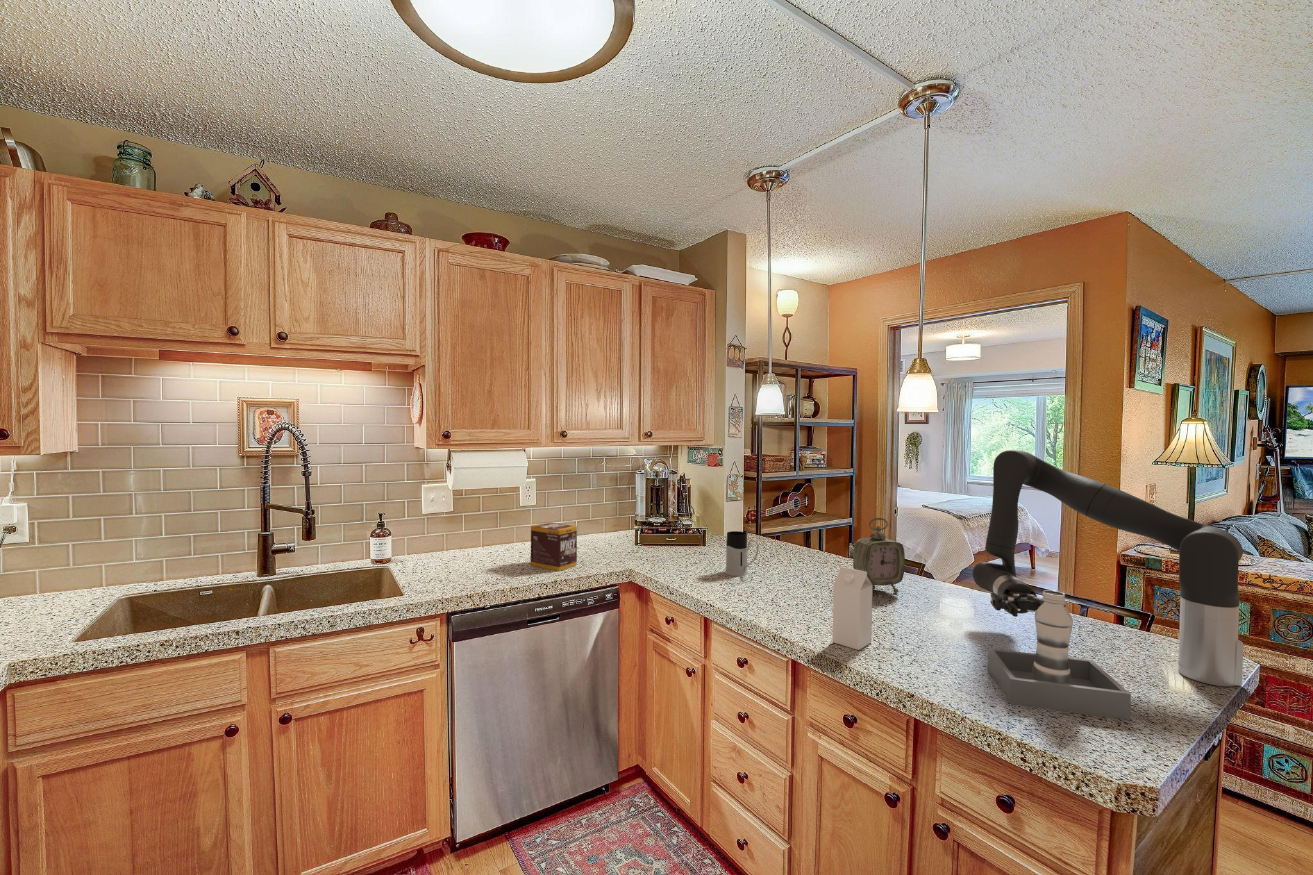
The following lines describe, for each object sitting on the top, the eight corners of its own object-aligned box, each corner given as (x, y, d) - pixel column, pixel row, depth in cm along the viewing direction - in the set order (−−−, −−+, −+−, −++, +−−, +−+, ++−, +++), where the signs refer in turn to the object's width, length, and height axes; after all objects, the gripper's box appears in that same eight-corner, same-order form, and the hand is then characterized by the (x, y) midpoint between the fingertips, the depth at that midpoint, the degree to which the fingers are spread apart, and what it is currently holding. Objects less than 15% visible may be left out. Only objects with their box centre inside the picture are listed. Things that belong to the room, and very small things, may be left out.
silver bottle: (1033, 677, 121) (1035, 586, 120) (1072, 686, 116) (1074, 592, 116) (1030, 687, 116) (1032, 593, 115) (1070, 698, 111) (1073, 599, 111)
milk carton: (845, 635, 146) (846, 564, 146) (871, 643, 141) (872, 569, 141) (832, 642, 141) (833, 569, 141) (858, 650, 136) (860, 574, 136)
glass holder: (734, 568, 214) (735, 529, 213) (765, 576, 203) (765, 535, 203) (720, 572, 208) (720, 532, 207) (750, 580, 197) (750, 538, 197)
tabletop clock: (864, 597, 179) (866, 520, 179) (849, 588, 188) (850, 515, 188) (904, 594, 182) (905, 519, 182) (887, 586, 191) (888, 514, 191)
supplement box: (559, 571, 207) (559, 530, 207) (530, 565, 216) (530, 525, 215) (577, 565, 216) (577, 526, 216) (548, 560, 224) (549, 521, 224)
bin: (1091, 682, 120) (1092, 659, 120) (1130, 720, 105) (1130, 694, 105) (987, 669, 126) (988, 648, 126) (1010, 703, 111) (1010, 679, 111)
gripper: (982, 576, 142) (1002, 594, 126) (1046, 581, 138) (1075, 601, 122) (981, 605, 142) (1001, 627, 126) (1046, 611, 138) (1074, 634, 122)
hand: (1037, 614), depth 124 cm, fingers open, 8 cm apart
